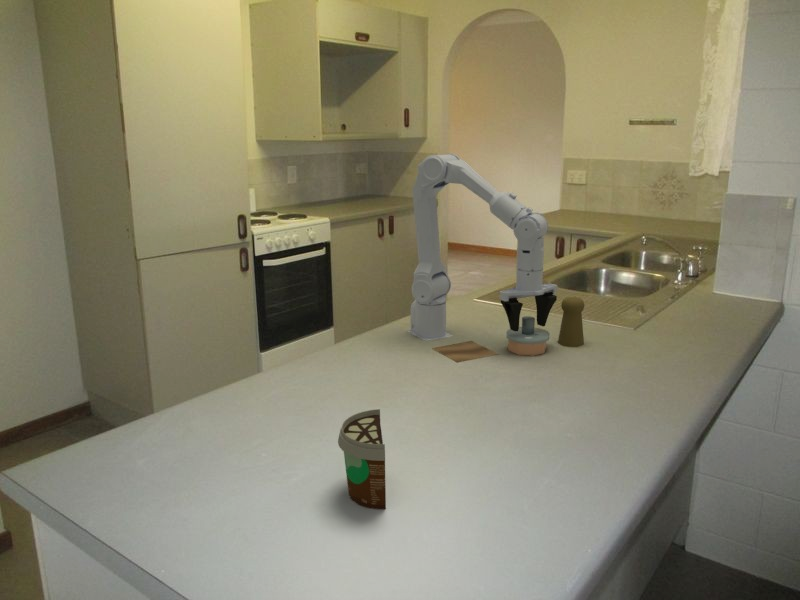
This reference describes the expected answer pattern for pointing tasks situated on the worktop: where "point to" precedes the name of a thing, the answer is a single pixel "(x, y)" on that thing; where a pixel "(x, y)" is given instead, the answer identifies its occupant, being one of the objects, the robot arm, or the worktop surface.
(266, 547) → the worktop surface
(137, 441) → the worktop surface
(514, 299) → the robot arm
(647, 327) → the worktop surface
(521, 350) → the pot
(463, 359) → the board
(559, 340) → the cork
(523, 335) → the lid
